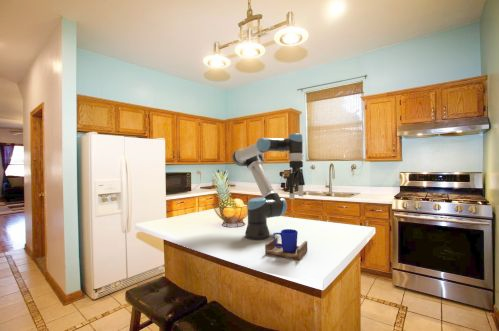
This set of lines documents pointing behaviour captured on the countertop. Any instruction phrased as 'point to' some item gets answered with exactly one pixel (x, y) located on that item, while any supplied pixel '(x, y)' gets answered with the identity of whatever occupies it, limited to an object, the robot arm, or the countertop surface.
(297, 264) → the countertop surface
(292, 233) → the mug
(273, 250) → the tray
